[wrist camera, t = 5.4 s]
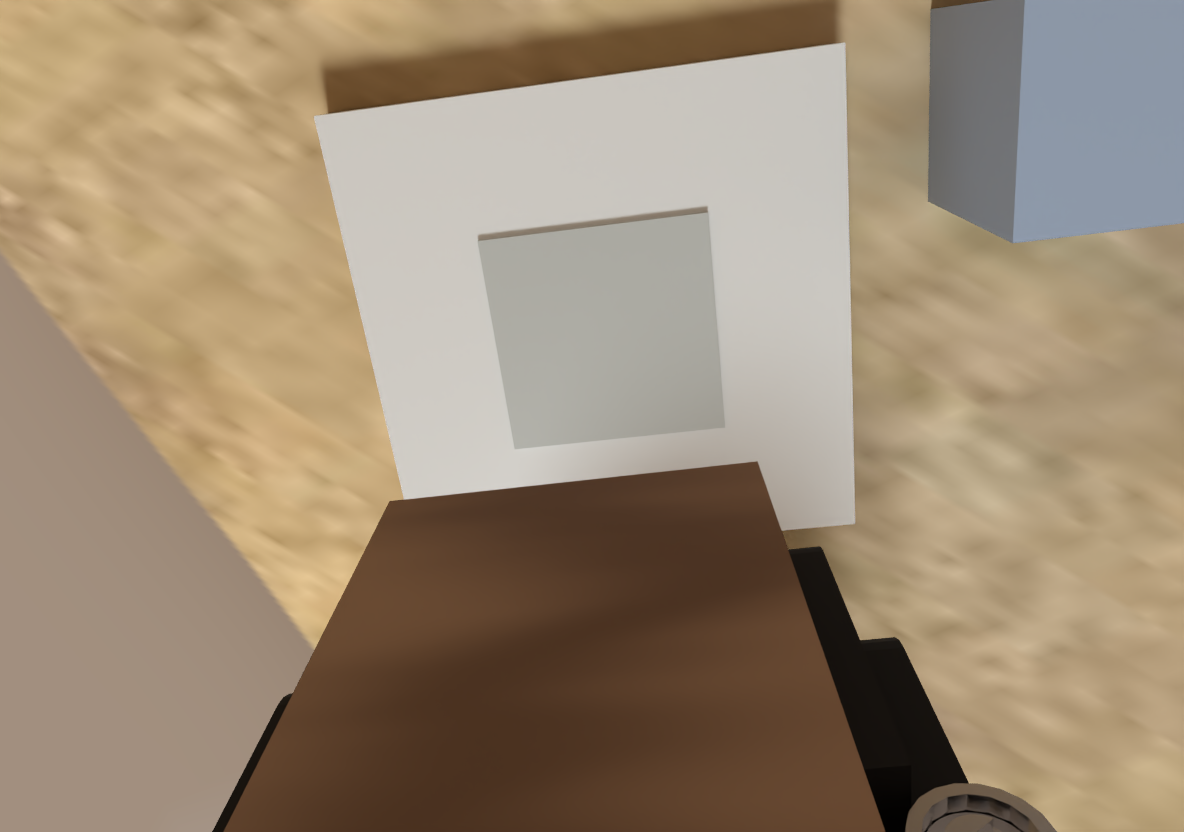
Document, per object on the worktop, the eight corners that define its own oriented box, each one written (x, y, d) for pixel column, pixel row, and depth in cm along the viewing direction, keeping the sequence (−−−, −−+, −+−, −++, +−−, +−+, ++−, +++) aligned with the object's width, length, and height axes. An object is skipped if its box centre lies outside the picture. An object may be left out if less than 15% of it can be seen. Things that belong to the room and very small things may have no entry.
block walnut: (758, 461, 12) (885, 831, 6) (777, 753, 14) (888, 1238, 8) (389, 501, 12) (197, 883, 7) (458, 780, 14) (355, 1262, 8)
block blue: (1127, -19, 23) (1288, -42, 17) (1110, 178, 25) (1250, 215, 19) (930, 9, 23) (1025, -5, 18) (927, 201, 25) (1012, 243, 20)
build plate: (835, 43, 24) (846, 42, 22) (846, 505, 29) (856, 526, 28) (327, 113, 25) (311, 116, 23) (427, 545, 30) (418, 567, 29)
